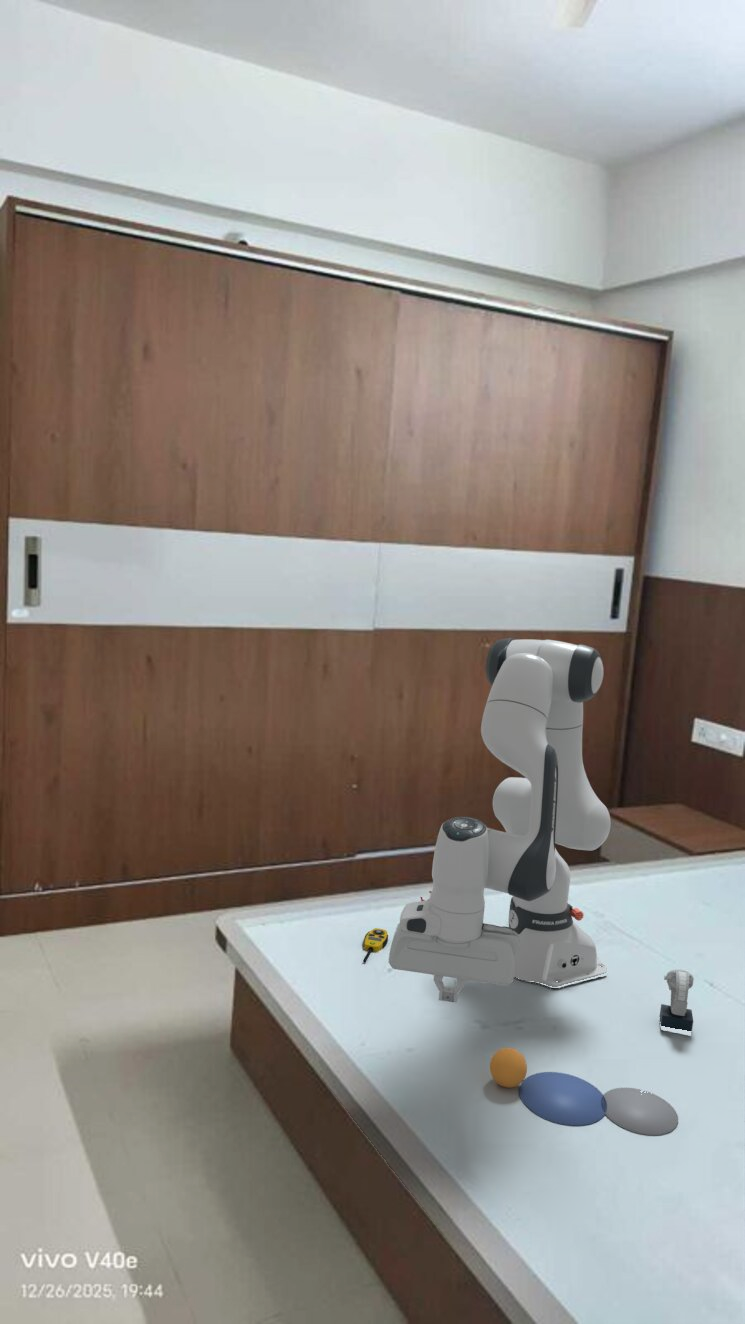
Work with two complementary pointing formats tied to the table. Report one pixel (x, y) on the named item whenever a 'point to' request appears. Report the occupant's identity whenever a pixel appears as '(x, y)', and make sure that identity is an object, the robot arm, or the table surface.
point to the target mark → (562, 1098)
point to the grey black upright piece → (678, 1001)
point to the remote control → (375, 941)
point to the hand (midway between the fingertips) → (447, 999)
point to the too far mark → (639, 1111)
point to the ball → (508, 1067)
